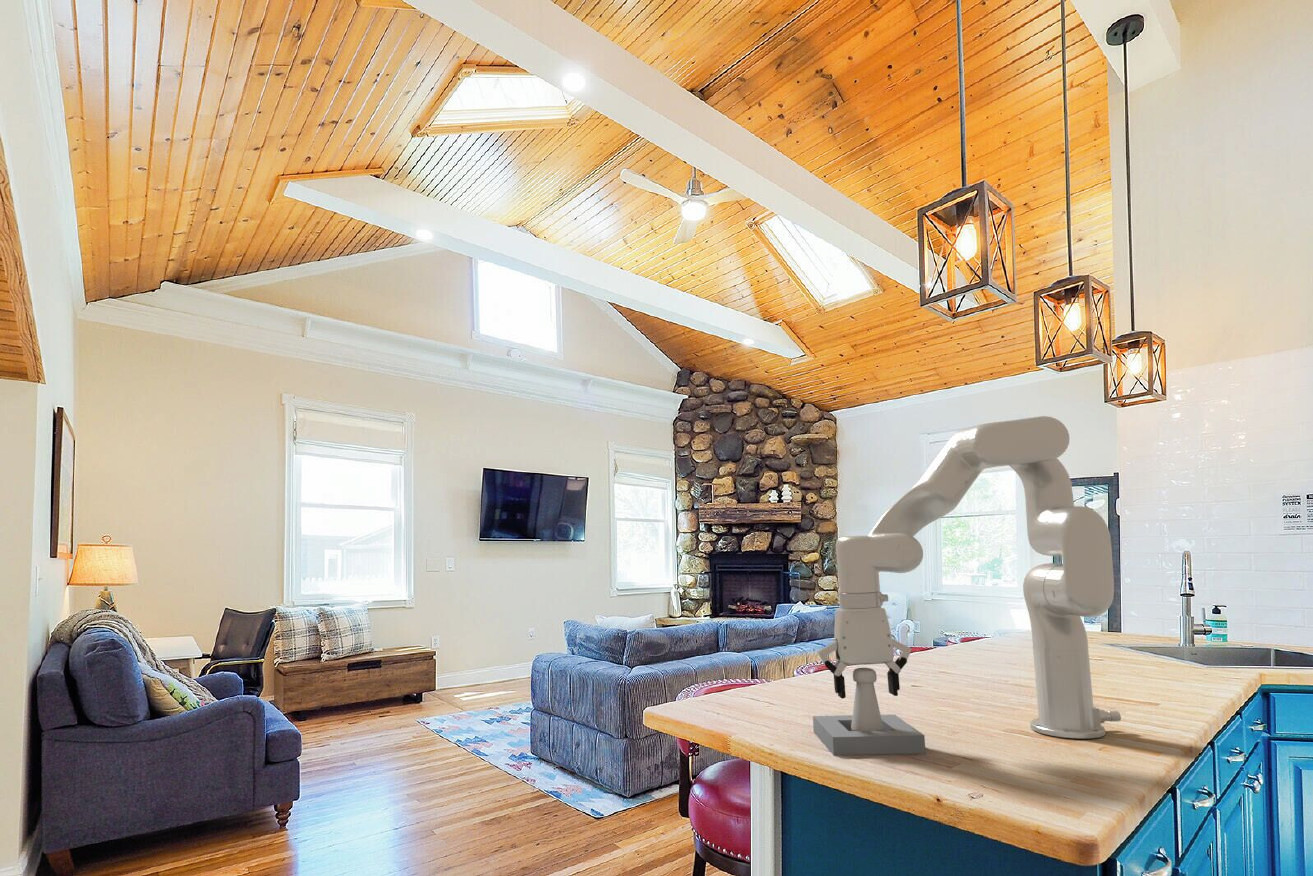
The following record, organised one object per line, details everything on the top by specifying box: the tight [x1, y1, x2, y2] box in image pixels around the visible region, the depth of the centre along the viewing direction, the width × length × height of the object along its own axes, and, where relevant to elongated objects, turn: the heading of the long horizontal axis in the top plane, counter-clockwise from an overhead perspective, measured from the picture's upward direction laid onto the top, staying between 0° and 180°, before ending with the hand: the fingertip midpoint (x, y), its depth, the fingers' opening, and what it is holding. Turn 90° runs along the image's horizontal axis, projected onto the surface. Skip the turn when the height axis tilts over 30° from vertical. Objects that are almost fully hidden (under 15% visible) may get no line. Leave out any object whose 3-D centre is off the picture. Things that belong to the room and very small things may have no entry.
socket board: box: [812, 714, 926, 756], centre depth 139 cm, size 16×16×3 cm
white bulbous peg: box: [851, 667, 884, 731], centre depth 140 cm, size 6×6×13 cm
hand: (867, 695), depth 140 cm, fingers open, 9 cm apart
